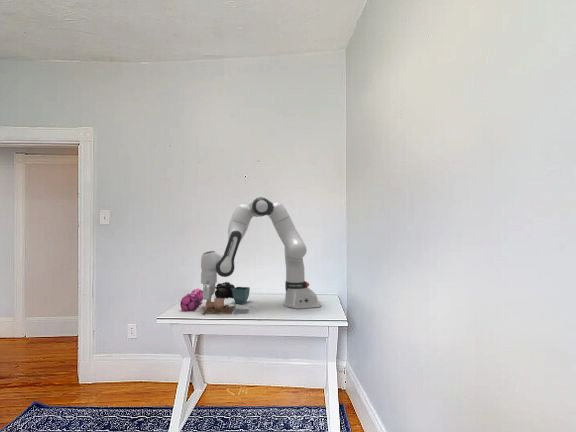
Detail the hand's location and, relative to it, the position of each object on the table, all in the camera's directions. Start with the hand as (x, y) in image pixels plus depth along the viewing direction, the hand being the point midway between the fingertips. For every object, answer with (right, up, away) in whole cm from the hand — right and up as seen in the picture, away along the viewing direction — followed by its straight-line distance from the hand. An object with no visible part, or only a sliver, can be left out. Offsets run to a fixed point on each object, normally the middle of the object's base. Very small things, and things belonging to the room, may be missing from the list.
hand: (208, 304), depth 199 cm
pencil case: (-11, -4, +7) cm, 13 cm away
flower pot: (+16, -4, +16) cm, 23 cm away
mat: (+19, -3, -5) cm, 20 cm away
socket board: (+6, -3, -2) cm, 7 cm away
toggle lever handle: (+4, -3, -2) cm, 5 cm away
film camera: (+3, -4, +31) cm, 31 cm away
